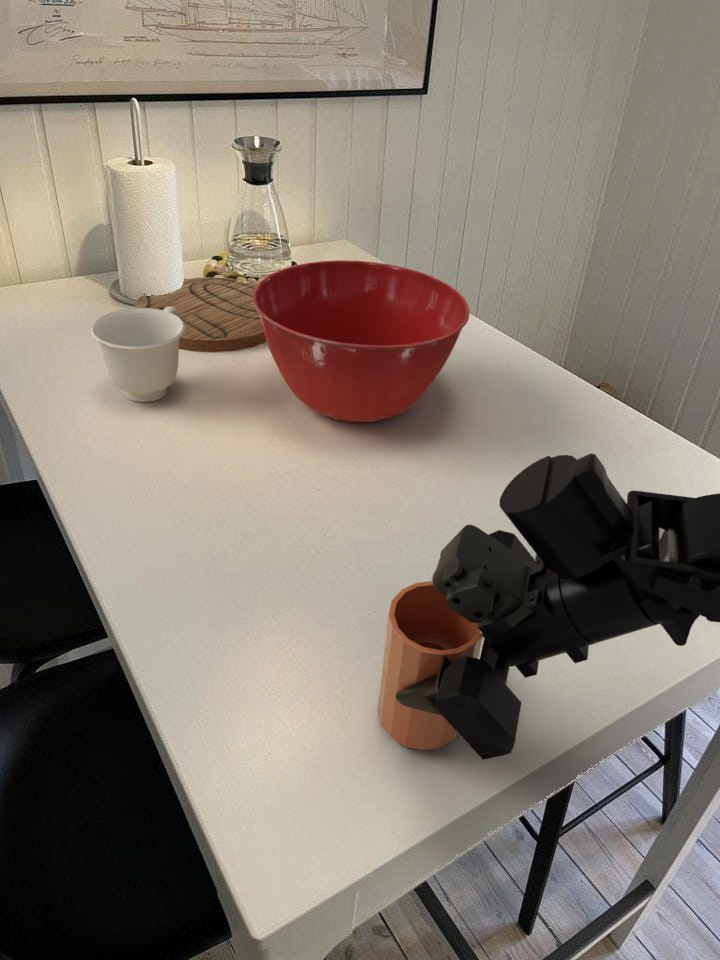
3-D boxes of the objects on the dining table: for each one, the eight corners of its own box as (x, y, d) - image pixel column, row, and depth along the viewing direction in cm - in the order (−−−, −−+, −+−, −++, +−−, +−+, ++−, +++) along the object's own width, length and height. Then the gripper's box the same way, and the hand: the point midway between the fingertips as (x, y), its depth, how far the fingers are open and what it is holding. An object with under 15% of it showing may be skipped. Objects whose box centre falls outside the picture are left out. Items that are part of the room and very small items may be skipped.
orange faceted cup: (475, 708, 66) (500, 608, 58) (435, 770, 62) (456, 670, 53) (405, 668, 69) (419, 568, 61) (361, 724, 65) (371, 623, 56)
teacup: (215, 374, 111) (212, 311, 105) (158, 423, 99) (151, 355, 93) (145, 356, 114) (138, 293, 108) (82, 401, 102) (70, 333, 96)
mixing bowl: (294, 339, 122) (296, 245, 113) (468, 373, 117) (484, 277, 107) (221, 427, 100) (216, 319, 91) (431, 473, 95) (448, 364, 85)
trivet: (211, 367, 112) (211, 356, 111) (103, 316, 123) (101, 305, 122) (317, 317, 129) (318, 307, 128) (213, 276, 140) (213, 266, 139)
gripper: (533, 449, 58) (382, 523, 67) (495, 618, 43) (308, 684, 52) (608, 551, 61) (455, 609, 70) (597, 740, 47) (405, 783, 55)
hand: (411, 661), depth 62 cm, fingers closed on orange faceted cup, 7 cm apart
